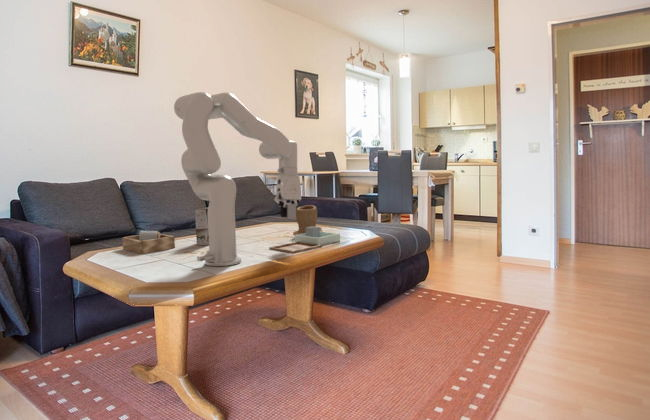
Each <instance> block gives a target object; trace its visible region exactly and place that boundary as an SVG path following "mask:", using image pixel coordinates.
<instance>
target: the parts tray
mask: <svg viewBox="0 0 650 420" xmlns="http://www.w3.org/2000/svg"><path fill="white" fill-rule="evenodd" d="M322 247H323V245H318V244H311V243H305V242H295V241H293V242H289V243H285V244H284V243H282V244H279V245H273V246H269V248H268V249H269V250H271V251H276V252H283V253H289V254H299V253H301V252H305V251H310V250H311V251H312V250H314V249H315V250H316V249H319V248H322Z"/></svg>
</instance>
